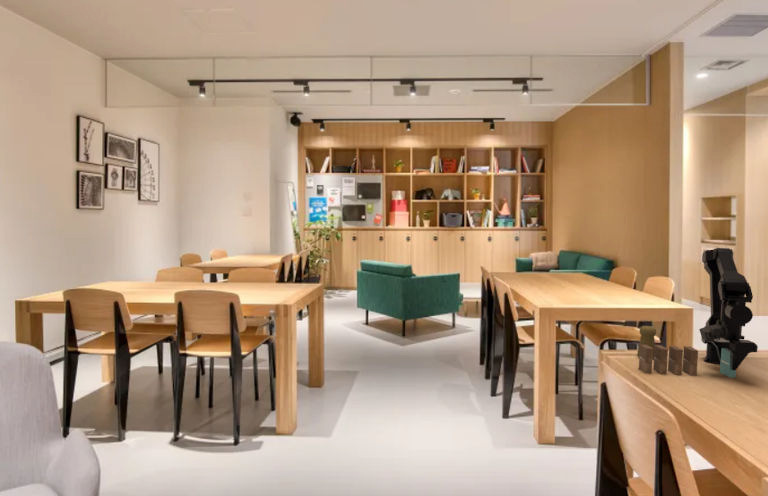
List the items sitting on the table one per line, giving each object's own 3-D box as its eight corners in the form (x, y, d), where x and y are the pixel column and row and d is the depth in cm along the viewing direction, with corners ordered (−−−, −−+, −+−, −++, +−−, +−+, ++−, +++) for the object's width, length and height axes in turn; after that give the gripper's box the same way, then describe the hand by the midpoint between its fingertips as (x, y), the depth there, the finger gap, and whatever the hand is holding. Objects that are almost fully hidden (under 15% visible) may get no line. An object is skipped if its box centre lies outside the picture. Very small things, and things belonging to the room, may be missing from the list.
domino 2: (659, 369, 169) (661, 345, 169) (666, 374, 164) (668, 349, 164) (653, 369, 170) (654, 345, 169) (659, 374, 165) (661, 349, 164)
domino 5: (726, 372, 167) (728, 348, 167) (735, 377, 163) (737, 352, 162) (719, 372, 168) (721, 347, 167) (728, 377, 163) (730, 351, 162)
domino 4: (689, 370, 169) (690, 346, 168) (696, 375, 164) (698, 350, 163) (682, 370, 169) (683, 346, 168) (689, 375, 164) (691, 350, 163)
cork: (645, 360, 180) (646, 328, 179) (632, 355, 186) (634, 324, 185) (660, 359, 181) (661, 328, 180) (647, 354, 187) (649, 324, 186)
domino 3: (674, 370, 169) (675, 345, 168) (681, 375, 164) (683, 350, 163) (667, 369, 169) (669, 345, 169) (674, 374, 164) (676, 349, 164)
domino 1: (645, 368, 170) (646, 344, 169) (651, 373, 165) (653, 348, 164) (638, 368, 170) (640, 344, 169) (644, 373, 165) (646, 348, 164)
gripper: (689, 311, 174) (687, 357, 175) (720, 323, 155) (717, 375, 156) (725, 312, 173) (722, 359, 174) (760, 325, 154) (756, 376, 155)
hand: (728, 366), depth 165 cm, fingers open, 6 cm apart
